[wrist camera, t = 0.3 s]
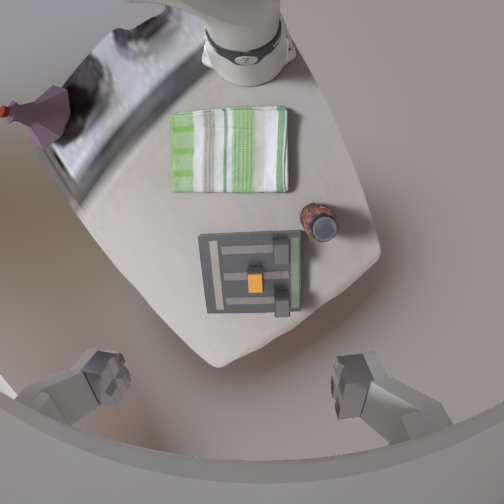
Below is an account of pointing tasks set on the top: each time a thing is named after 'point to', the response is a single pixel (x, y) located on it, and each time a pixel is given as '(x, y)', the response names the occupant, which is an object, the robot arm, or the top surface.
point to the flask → (42, 116)
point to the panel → (235, 270)
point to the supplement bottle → (319, 222)
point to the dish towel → (230, 150)
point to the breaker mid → (255, 279)
